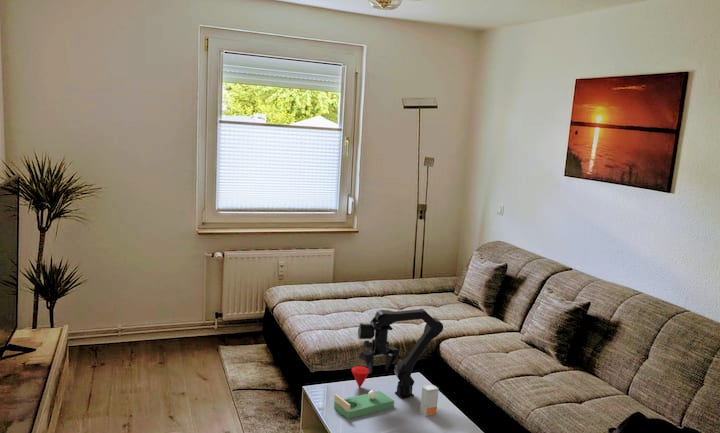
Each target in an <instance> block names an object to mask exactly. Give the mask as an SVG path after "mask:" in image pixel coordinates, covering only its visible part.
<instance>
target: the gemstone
mask: <svg viewBox="0 0 720 433" xmlns="http://www.w3.org/2000/svg"><path fill="white" fill-rule="evenodd" d="M350 370H351V373H352V375H353V377H354V380H355V382H356V383H357V386H358V388H359V387H360V388H361V387H362V385H364V384H363V383H364V382H365V381H366V379H367V377H368V376H369V374H370V373H369V371H368V367H366V366H360V365H359V366H354V367H352V368H351V369H350Z"/></svg>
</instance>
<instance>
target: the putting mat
mask: <svg viewBox="0 0 720 433" xmlns="http://www.w3.org/2000/svg"><path fill="white" fill-rule="evenodd" d="M376 392H377V397H376V399H374V400H372V399H370V398H369V397H368V393H365V394H361V395H360V394H359V395H357V396H352V397H347V398H342V397H341V396H340V395H339V394H334V400H333V401H334V403H333V408H334V409H335V410H336V411H337V413H338V414H339V415H341V416H343V417H345V418H346V419H347V420H349V419H353V418H357V417H361V416H364V415H368V414H369V415H370V414H372V413H377V412H380V411H384V410H388V409H391V408H394V407H395V400H394V399H392V398H391V397H390V396H388V395H386V394H385V393H383V391H380V390H377V391H376ZM376 411H377V412H376Z"/></svg>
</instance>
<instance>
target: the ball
mask: <svg viewBox="0 0 720 433" xmlns="http://www.w3.org/2000/svg"><path fill="white" fill-rule="evenodd" d="M367 394H368V397H369V398H370V399H372V400H374V399H376V397H377V391H376V390H375V389H371V390H369V391H368V393H367Z"/></svg>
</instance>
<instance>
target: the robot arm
mask: <svg viewBox="0 0 720 433" xmlns="http://www.w3.org/2000/svg"><path fill="white" fill-rule="evenodd" d="M417 320H422V321H423V322H424V323H425V326H424V329H423V333H422V335H421V336H420V337H419V339H418V340H417V342H416V343H415V344H414V346H413V347H412V348H411V351H410V352H409V353H408V354H407V356H406V357H405V358H404V359H402V360H401V358H399V359H398V356H400V354H401V352H400V349H398V348H397V347H395V346H393V345H392V346H388V345H390V342H389V341H388V333H389V331H392V330H393V327H392V326H391V325H392V324H395V323H397V322H404V321H405V322H406V321H417ZM443 331H444V324H443V323H442V322H441V320H439V319H438V318H436V317H432V315H430V314H429V313H428V312H427V311H426V310H425V309H424V308H419V309H410V310H409V309H408V310H400V311H399V310H397V311H393V310H388V309H378V310H377V311H376V313H375V314H374V317H373V318H372V319H371V320H370V321H369V323H364V322H362V323H361V322H360V323H359V326H358V329H357V337H358V339H359V340H364V341H363V343H362V344H363V348H364V349H366V350H365V351H364V350H363V351H361V352H359V359H361V360H362V361H364V362H365V363H366V368H368V371H369V374H370V375H371V374H372V373H373V369H374V364H375V361H374V359H375V357H380V356H385V370H386V371H389V369H390V368H391V366H392V365H393V362H394V361H395V360H396V359H398V360H397V361H398V362H397V363H396V364H394V368H393V369H394V370H393V371H394V374H395V376H396V378H397V379H398V382H397V385H396V391H395V392H394V394H395V395H397V396H398V397H400V398H401V399H406V398H412V397H414V396H415V394H413V386H414V384H415V380H414V378H413V377H412V373H413V369H414V366H415V364H416V363H417V361H418V360H419V358H420V357H421V356H422V355H423V353H424V351H425V350H426V349H427V347H428V345H429V344H430V343H431V341H433V340H434V339H435V338H437V337H438V336H439V335H441V333H442V332H443ZM369 340H371V341H369ZM369 350H370V351H369Z"/></svg>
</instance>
